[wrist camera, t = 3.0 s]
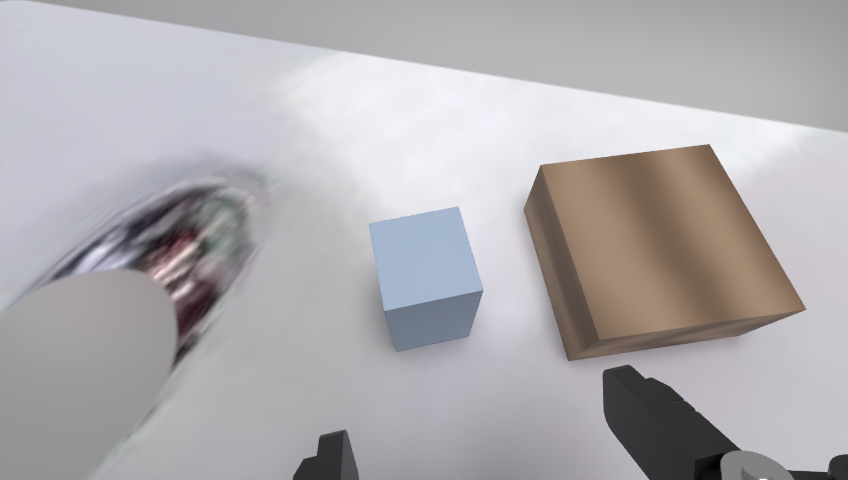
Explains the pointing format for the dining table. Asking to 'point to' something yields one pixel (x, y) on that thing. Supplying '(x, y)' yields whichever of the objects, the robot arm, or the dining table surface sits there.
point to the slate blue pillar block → (426, 277)
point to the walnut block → (652, 253)
